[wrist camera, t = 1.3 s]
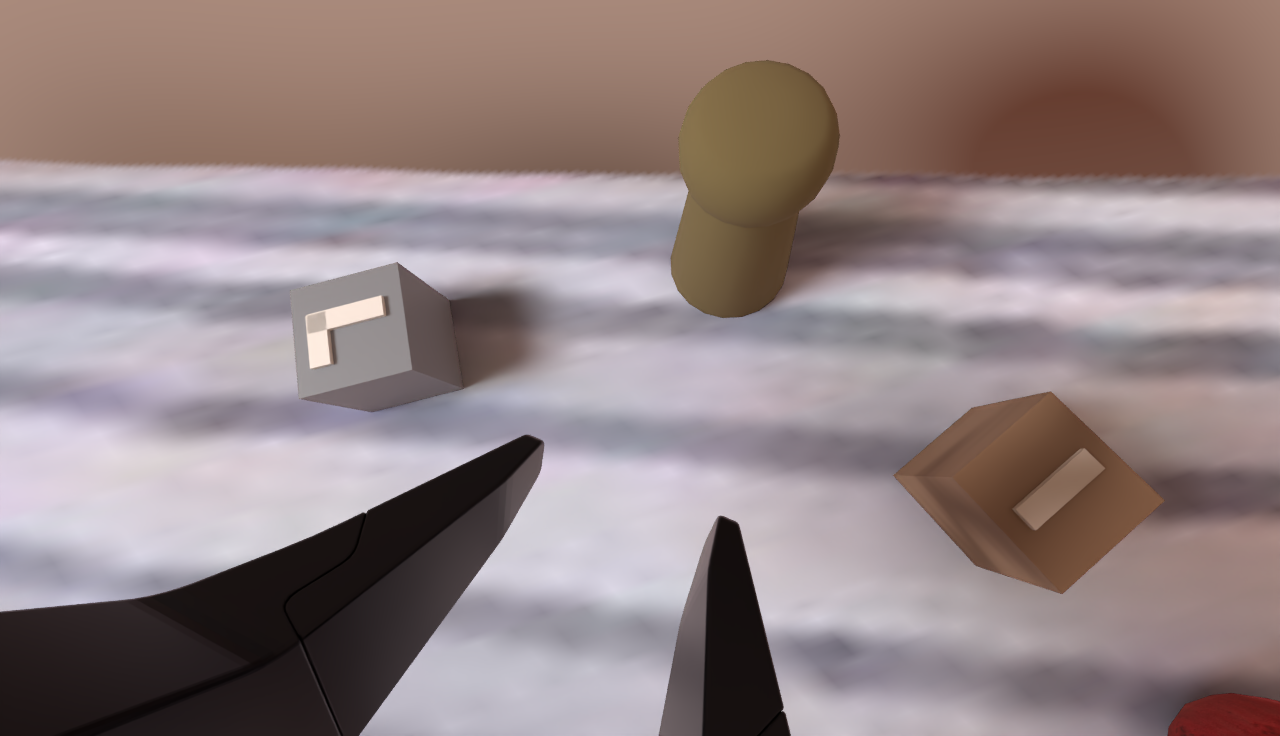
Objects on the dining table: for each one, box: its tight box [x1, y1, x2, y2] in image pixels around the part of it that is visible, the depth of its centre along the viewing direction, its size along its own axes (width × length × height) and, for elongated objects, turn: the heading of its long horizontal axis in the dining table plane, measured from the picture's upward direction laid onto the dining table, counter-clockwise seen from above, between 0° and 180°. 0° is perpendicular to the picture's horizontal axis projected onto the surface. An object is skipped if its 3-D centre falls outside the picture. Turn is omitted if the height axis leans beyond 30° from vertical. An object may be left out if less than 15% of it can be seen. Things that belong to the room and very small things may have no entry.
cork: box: [671, 60, 840, 318], centre depth 20 cm, size 6×6×11 cm
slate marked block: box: [290, 262, 464, 412], centre depth 23 cm, size 5×5×5 cm
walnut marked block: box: [893, 392, 1165, 594], centre depth 20 cm, size 5×5×5 cm
